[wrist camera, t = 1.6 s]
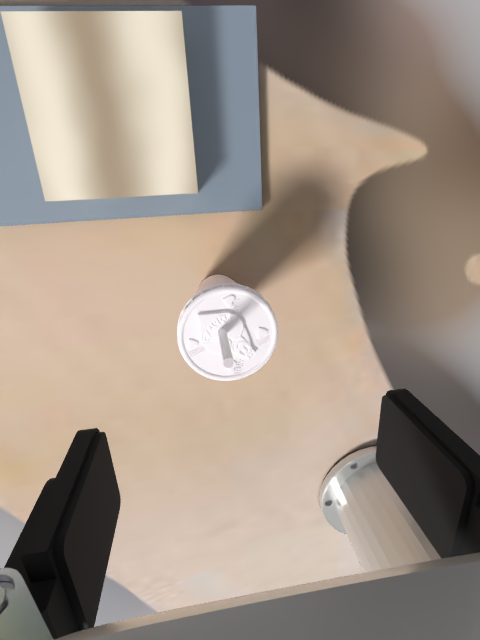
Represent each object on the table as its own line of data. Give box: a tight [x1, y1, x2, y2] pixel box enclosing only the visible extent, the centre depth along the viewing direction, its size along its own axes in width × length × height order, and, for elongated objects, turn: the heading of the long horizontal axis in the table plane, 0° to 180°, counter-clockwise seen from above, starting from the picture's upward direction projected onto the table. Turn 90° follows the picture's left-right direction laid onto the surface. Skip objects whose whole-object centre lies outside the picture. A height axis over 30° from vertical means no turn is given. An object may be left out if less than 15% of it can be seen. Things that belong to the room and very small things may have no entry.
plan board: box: [0, 5, 262, 226], centre depth 25 cm, size 20×13×1 cm, turn 93°
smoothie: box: [177, 275, 278, 381], centre depth 24 cm, size 6×6×14 cm
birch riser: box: [0, 11, 198, 201], centre depth 23 cm, size 10×10×3 cm
